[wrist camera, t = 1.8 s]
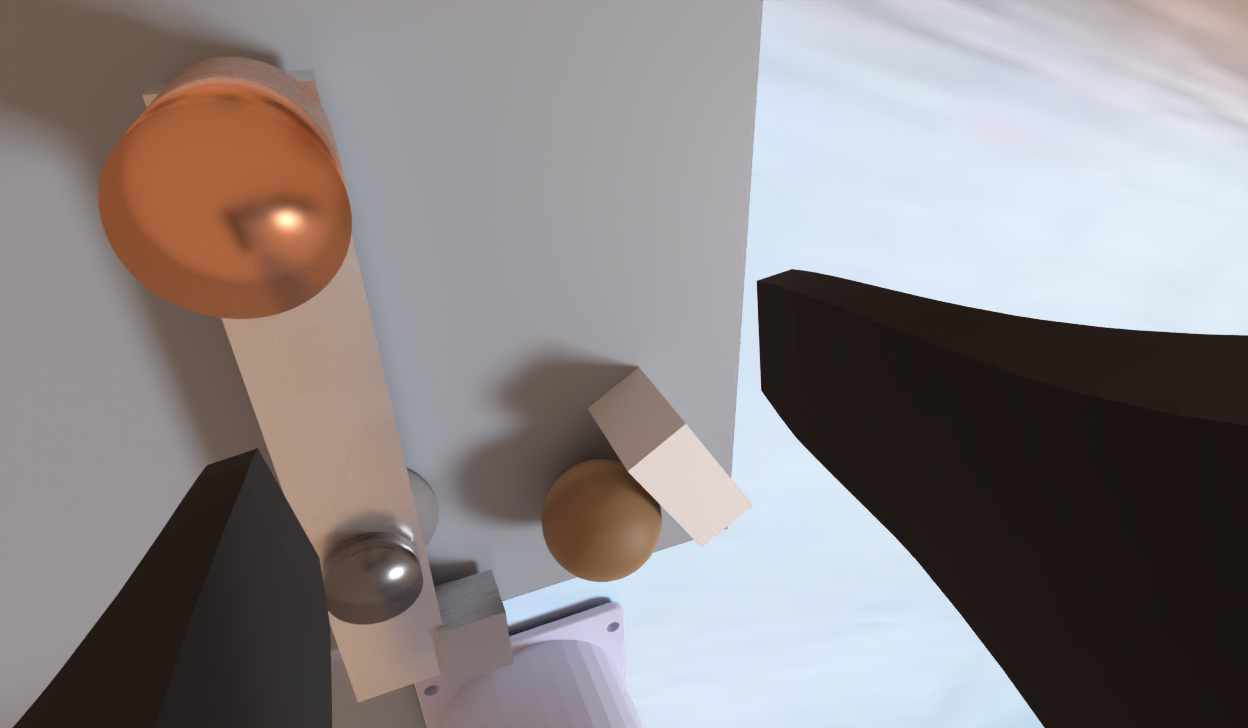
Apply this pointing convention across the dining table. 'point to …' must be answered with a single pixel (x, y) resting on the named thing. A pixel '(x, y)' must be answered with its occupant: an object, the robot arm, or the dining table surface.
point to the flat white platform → (384, 276)
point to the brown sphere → (600, 521)
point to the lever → (297, 348)
